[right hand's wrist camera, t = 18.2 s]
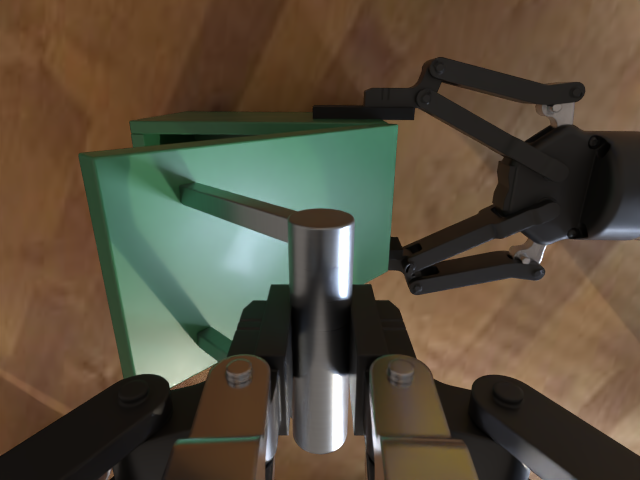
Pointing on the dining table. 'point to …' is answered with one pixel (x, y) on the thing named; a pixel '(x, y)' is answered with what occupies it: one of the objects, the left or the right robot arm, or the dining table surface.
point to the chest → (227, 125)
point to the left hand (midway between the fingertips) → (313, 183)
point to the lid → (244, 251)
